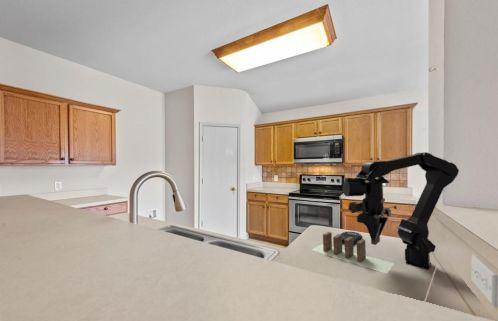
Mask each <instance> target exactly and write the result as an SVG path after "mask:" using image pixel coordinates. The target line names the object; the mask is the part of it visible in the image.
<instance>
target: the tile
mask: <svg viewBox="0 0 498 321" xmlns="http://www.w3.org/2000/svg"><path fill="white" fill-rule="evenodd" d="M380 238H381V235H380V231H379V232H378V234H377V237H376V240H375V241H373V240H370V242H371V245H374V246H377V244H378V243H380V242H381V239H380Z"/></svg>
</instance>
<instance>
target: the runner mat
mask: <svg viewBox="0 0 498 321" xmlns="http://www.w3.org/2000/svg"><path fill="white" fill-rule="evenodd" d="M311 251H313V252H316V253H320V254H323V255H325V256H329V257H332V258H334V259H338V260H342V261H345V262H349V263H351V264H354V265H357V266H360V267H364V268H367V269H370V270H374V271H376V272H380V273H381V274H385V275H388V273H389V272H390V270H391V269H392V268H393V267H394V265H395V263H394V262H390V261H387V260H384V259H379V258H375V257H373V256H368V255H366V259H365V260H363V261H362V262H358V261H357V252H355V251H354V255H353V256H352V257H350V258H349V259H348V258H345V248H342V252H341V253H340V254H338V255H335V254H334V245H332V249H331V250H329V251H327V252H325V251H323V243H321V244H319V245H317V246H316V247H314V248H312V249H311Z"/></svg>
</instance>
